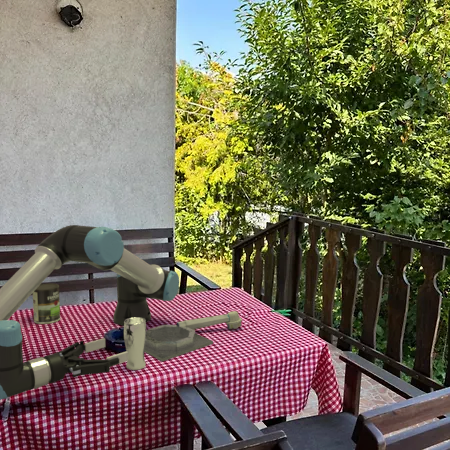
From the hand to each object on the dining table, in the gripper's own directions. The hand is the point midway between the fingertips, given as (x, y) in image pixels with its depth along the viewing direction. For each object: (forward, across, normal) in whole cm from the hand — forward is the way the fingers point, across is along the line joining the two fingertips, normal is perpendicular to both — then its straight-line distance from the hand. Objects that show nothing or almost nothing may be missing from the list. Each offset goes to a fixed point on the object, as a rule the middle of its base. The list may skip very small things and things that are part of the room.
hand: (115, 349), depth 138 cm
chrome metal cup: (+7, 0, -8) cm, 11 cm away
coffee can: (+3, -61, -8) cm, 62 cm away
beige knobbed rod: (+44, -7, -8) cm, 46 cm away
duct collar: (+26, -8, -8) cm, 28 cm away
